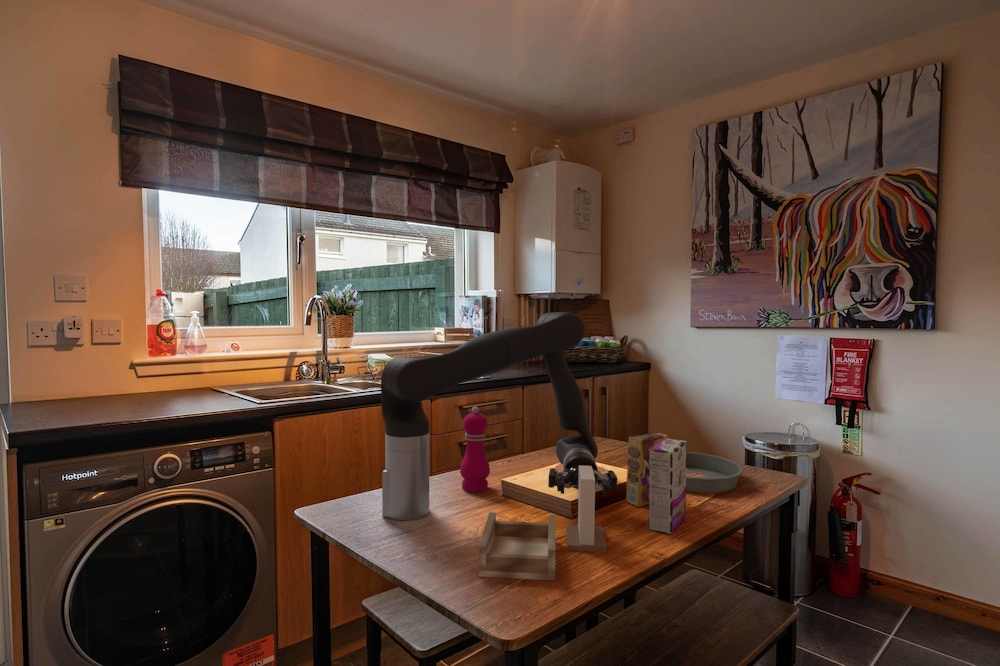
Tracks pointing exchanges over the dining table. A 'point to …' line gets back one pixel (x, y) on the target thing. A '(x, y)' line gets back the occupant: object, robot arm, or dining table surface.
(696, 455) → the cake pan
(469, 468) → the pepper mill
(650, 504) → the candy bar box
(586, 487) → the place card sign
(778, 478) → the dining table surface
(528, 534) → the brown wooden tray
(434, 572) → the dining table surface
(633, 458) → the candy box
